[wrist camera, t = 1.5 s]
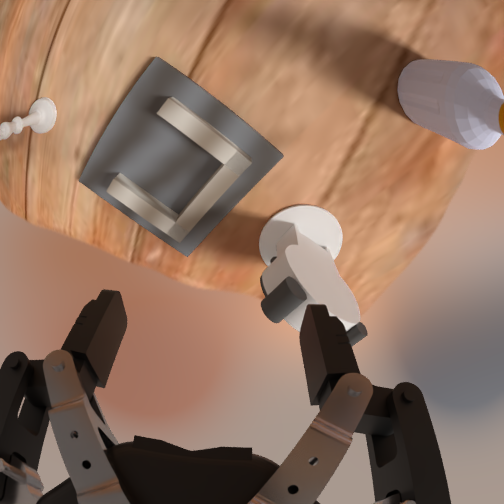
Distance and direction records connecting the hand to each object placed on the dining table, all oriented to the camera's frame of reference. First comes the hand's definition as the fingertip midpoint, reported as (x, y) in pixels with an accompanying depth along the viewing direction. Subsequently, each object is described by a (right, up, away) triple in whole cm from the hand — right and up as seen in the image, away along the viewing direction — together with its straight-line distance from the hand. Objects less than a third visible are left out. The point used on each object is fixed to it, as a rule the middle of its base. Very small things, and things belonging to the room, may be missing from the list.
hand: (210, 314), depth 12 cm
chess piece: (-25, +20, +14) cm, 35 cm away
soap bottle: (+23, +22, +14) cm, 35 cm away
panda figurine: (+8, +4, +26) cm, 28 cm away
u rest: (-7, +13, +19) cm, 24 cm away
